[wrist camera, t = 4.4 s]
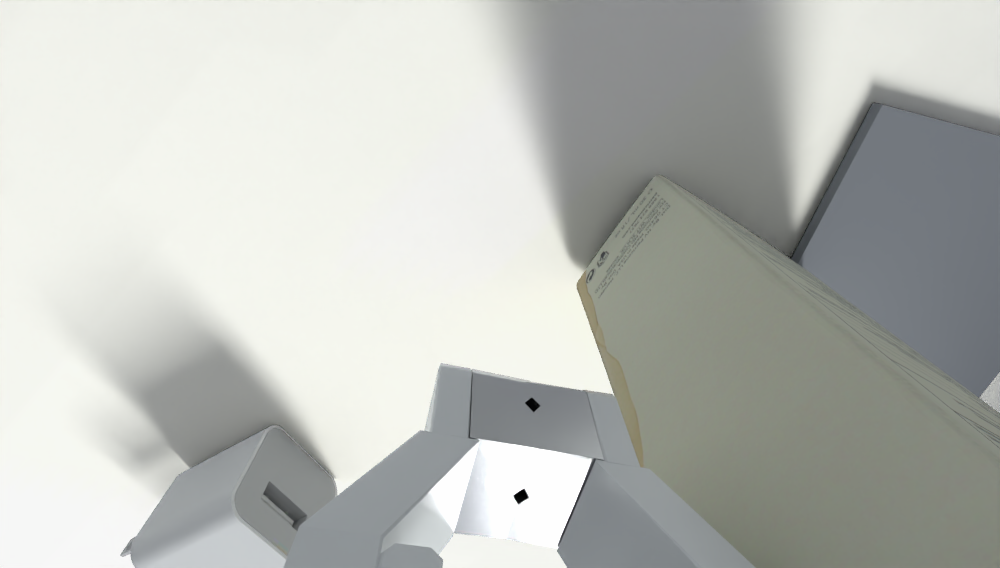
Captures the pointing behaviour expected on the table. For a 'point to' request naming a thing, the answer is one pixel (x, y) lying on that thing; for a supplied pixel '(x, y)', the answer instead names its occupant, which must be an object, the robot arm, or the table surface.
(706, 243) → the skincare box
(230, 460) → the usb wall charger
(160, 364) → the table surface
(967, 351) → the rubber mat
